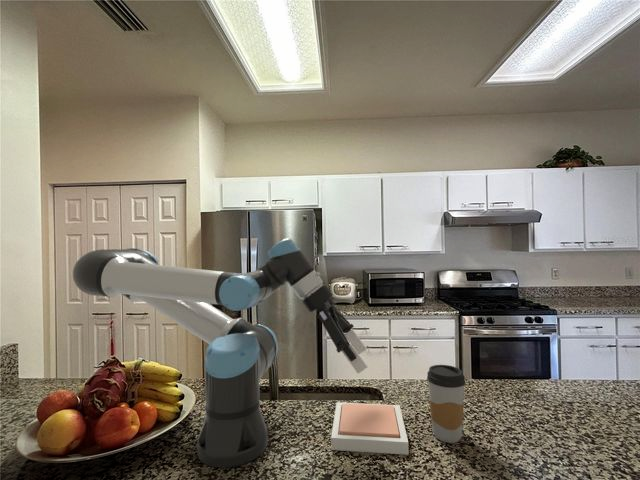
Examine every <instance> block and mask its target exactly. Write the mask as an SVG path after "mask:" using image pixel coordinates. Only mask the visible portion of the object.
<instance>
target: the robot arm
mask: <svg viewBox="0 0 640 480" xmlns="http://www.w3.org/2000/svg"><path fill="white" fill-rule="evenodd" d="M267 255H268V258H269V259H268V260H267V261H266V262H265V263H264V264H262V265H261V266H260V267H258V268H257V269H255V270H254V271H250V272H246V273H239V272H229V271H228V272H227V271H221V270H219V271H218V270H212V269H211V270H209V269H200V268H199V269H198V268H192V267H180V266H169V265H159V260H158V259H157V258H156V256H155V255H154V254H153V253H152V252H150V251H147V250H145V249H140V248H133V247H132V248H123V249H121V248H120V249H114V248H113V249H110V248H109V249H105V248H104V249H101V248H100V249H95V250H92V251H89V252H87V253H85V254H83V255H82V256H81V257H80V258H79V259H78V260H77V261H76V263H75V264H74V266H73V270H72V279H73V281H74V284H75V286H76V287H77V288H78V290H81V291H82V292H83V293H85V294H87V295H90V296H95V297H98V296H99V297H106V298H118V297H121V296H124V297H125V298H127V299H129V301H132V302H134V303H139V302H144V303H145V304H147V305H149V307H151V308H153V309H155V310H156V311H158V312H159V313H161V314H162V315H164V316H165V317H167V318H169V319H170V320H172V321H173V322H174V323H176V324H178V325H179V326H180V327H182V328H184V329H185V330H187V331H188V332H190V333H191V334H193V335H194V336H196V337H198V338H199V339H201V340H202V341H203V342H205V343H206V344H208V346H207V347H206V350H205V359H204V372H205V373H204V375H205V376H204V380H205V381H204V383H205V384H204V385H205V387H204V388H205V416H204V418H203V419H204V420H203V422H202V426H201V427H200V428H201V429H200V432H199V436H198V438H197V444H196V446H197V447H196V448H197V452H196V453H197V458H198V459H199V460H200V462H202V463H203V464H205V465H207V466H210V467H214V468H219V469H220V468H222V469H223V468H224V469H225V468H234V467H238V466H241V465H246V464H248V463H249V462H252V461H253V460H255V459H257V458H259V457H260V456H261V454H263V453H264V452H265V450H266V448H267V446H268V443H269V441H268V440H269V438H268V436H269V435H268V434H269V433H268V428H267V425H266V423H265V420H264V416H263V414H262V410H261V407H260V380H261V378H262V377H263V376H264V375H265V373H266V372H267V371H268V369H269V368H271V367H272V366H273V364H274V362H275V360H276V358H277V355H278V352H279V344H278V339H277V336H276V334H275V333H274V331H273V330H272V329H271V328H270V327H267V326H266V325H262V324H252V323H251V322H249V320H246V319H244V318H243V317H238V318H232V317H230V316H229V315H227V314H226V313H225V312H222V310H220V309H218V308H216V307H214V306H213V305H218V306H224V307H225V308H226V309H228V310H230V311H235V312H237V311H238V312H240V311H243V310H247V309H249V308H251V307H252V308H253V307H256V306H257V305H259V304H261V303H262V302H265V300H266V299H267V298H268V297H270V296H271V295H272V294H274V293H275V292H276V291H277V290H279V289H280V288H281V287H283V286H284V285H286V284H289V286H290V287H291V288H292V290H293V292H294V293H295V295H296V296H297V297H298V299H299V300H302V304H303V305H304V306H305V308H306V309H307V310H308V312H309V313H313V312H315V311H318V314H316V316H317V319H319V320H320V322H321V323H322V326H323V327H324V329H325V330H326V332H327V334H328V336H329V337H330V339H331V341H332V343H333V344H334V346H335V349H336V352H337V353H338V354H339V353H341V352H342V354H343V356H345V358H346V359H347V361H348V362H349V363H350V364H351V367H352V368H353V369H354V370H355V372H356V373H357V374H358V375H359V374H360V373H361V372H363V371H364V370H366V369H367V368H368V365H367V364H366V362H365V361H364V360H363V358H362V356H361V355H360V354H362V353H363V352H364V351H366V350H367V347H366V346H365V344H364V342H362V340H361V339H360V337H359V336H358V335H357V333H356V332H355V330H354V329H353V328H354V327H355V326H354V324H353V323H350V322H349V321H348V319H347V318H346V317H345V316H344V314H342V312H340V310H339V309H338V308H337V307H336V306H335V304H334V303H333V301H332V300H331V298H332V297H333V294H334V293H333V292H332V291H331V290H330V289H329V288H328V285H326V284H323V283H324V281H323V279H322V278H321V277H320V275H321V272H319V271H316V270H315V268H314V267H313V266H312V264H311V263H310V261H309V259H308V258H307V257H306V255H304V253H303V251H302V250H301V248H299V247H298V246H297V244H296V243H295V241H293V239H291V238H290V237H286V238H284V239H282V240H280V241H278V242H276V244H274V245H273V246H272V247H271V248H269V249H268V251H267Z"/></svg>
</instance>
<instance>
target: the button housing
mask: <svg viewBox="0 0 640 480" xmlns="http://www.w3.org/2000/svg"><path fill="white" fill-rule="evenodd" d="M335 403H336V404H335V410H334V417H333V424H332V429H331V437H330V450H331V451H342V452H344V451H345V452H357V453H359V452H360V453H377V454H389V455H390V454H393V455H394V454H395V455H410V454H409V440H408V435H407V431H406V427H405V422H404V418H403V415H402V414H403V413H402V410H401V406H400V404H388V405H389V406H394V411H395V416H396V421H397V426H398V431H399V438H391V437H373V436H356V435H339V430H340V421H341V413H342V405H343V403H345V404H362V403H360V402H358V403H357V402H356V403H355V402H339V401H338V402H335ZM366 404H367V405H385V404H381V403H380V404H379V403H377V404H376V403H366Z"/></svg>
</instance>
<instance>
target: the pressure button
mask: <svg viewBox="0 0 640 480" xmlns="http://www.w3.org/2000/svg"><path fill="white" fill-rule="evenodd" d="M342 403H343V405H342V413H341V421H340V430H339V435H356V436H373V437H391V438H399V431H398V426H397V421H396V416H395V411H394V406H389V405H390V404H384V405H367V404H368V403H361V404H345V403H346V402H342Z"/></svg>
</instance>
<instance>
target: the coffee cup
mask: <svg viewBox="0 0 640 480" xmlns="http://www.w3.org/2000/svg"><path fill="white" fill-rule="evenodd" d="M465 379H466V377H465V375H464V374H463V370H462V369H460V368H459V367H456V366H452V365H450V364H449V365H447V364H434V365H431V366H430V367H429V368H428V371H427V377H426V380H427V381H428V382H427V384H428V394H429V396H428V400H429V410H430V411H429V412H430V418H431V419H430V420H431V429H432V433H433V436H434V437H435V438H436V439H437V440H439V441H441V442H444V443H447V444H448V443H449V444H450V443H451V444H453V443H454V444H455V443H457V442H458V443H459V442H460V440H461V439H462V436H463V423H464V409H465V407H464V405H465V404H464V398H465V396H464V395H465V385H466V380H465Z"/></svg>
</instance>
